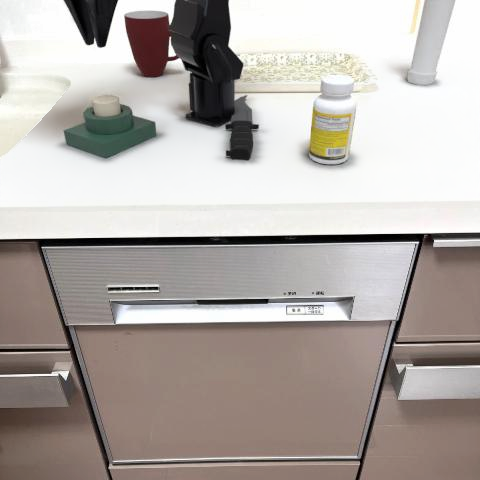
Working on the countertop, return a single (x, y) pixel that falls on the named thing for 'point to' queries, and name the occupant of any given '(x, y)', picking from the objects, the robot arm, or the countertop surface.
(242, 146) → the knife
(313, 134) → the supplement bottle
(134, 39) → the mug
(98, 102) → the cream short cylinder
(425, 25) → the white tall cylinder
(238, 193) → the countertop surface
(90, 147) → the green peg holder
